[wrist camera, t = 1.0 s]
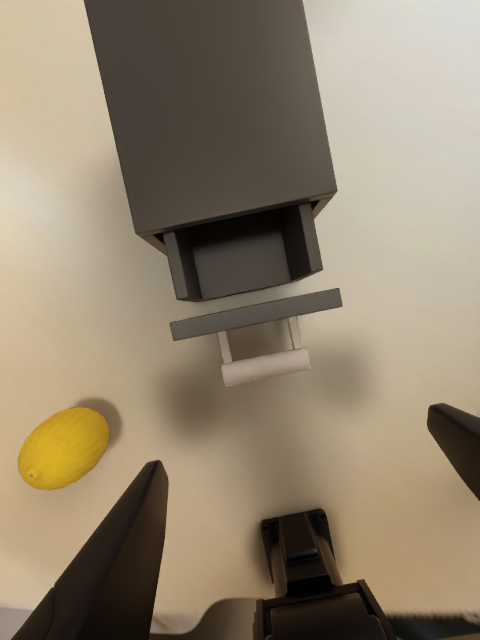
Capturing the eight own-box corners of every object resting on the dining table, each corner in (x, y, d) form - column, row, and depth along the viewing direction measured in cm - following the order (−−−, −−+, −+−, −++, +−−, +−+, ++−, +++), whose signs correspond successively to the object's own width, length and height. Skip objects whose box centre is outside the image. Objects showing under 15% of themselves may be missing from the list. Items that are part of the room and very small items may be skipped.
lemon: (55, 424, 26) (-27, 477, 18) (93, 383, 26) (26, 418, 18) (98, 462, 26) (35, 531, 18) (135, 421, 26) (88, 473, 18)
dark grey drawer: (318, 348, 25) (354, 368, 17) (203, 372, 25) (186, 402, 17) (283, 170, 24) (305, 103, 16) (165, 195, 24) (129, 141, 16)
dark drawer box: (300, 235, 25) (338, 191, 15) (175, 261, 25) (135, 234, 16) (272, 89, 24) (293, -54, 15) (143, 116, 24) (81, -7, 15)
